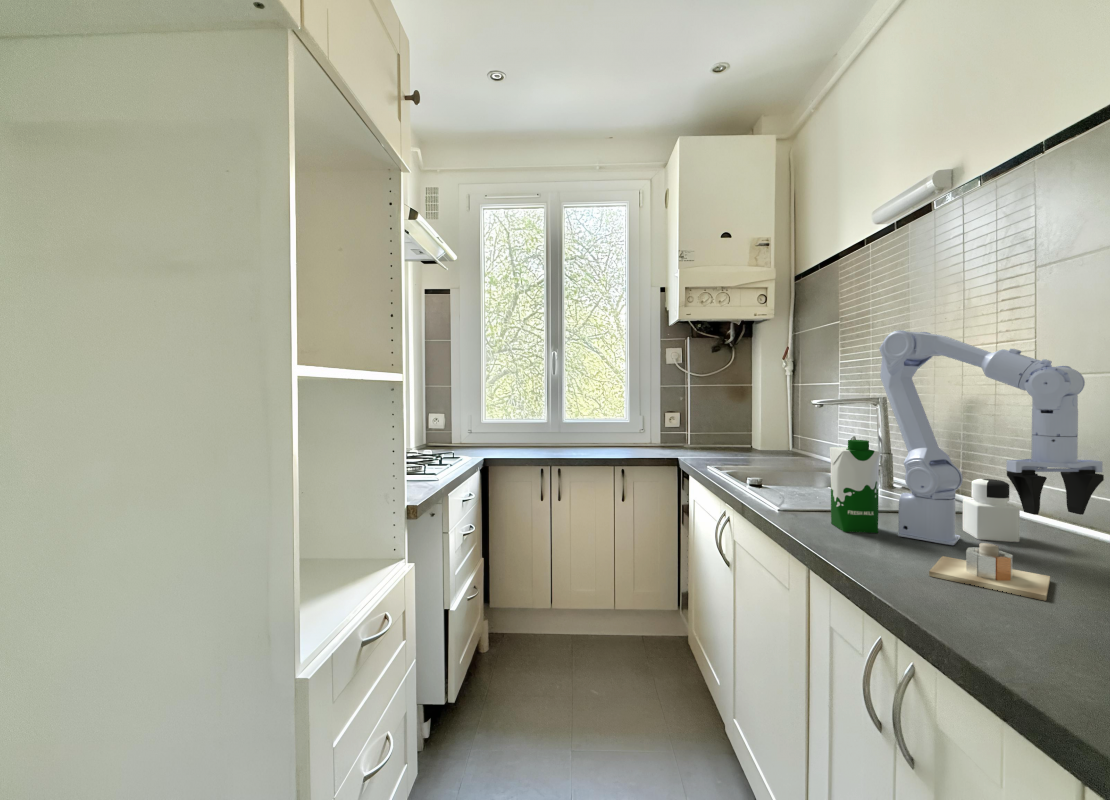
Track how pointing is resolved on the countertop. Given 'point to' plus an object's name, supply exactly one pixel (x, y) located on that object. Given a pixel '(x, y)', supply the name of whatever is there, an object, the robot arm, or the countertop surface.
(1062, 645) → the countertop surface
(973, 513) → the medicine bottle
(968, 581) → the duct board
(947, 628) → the countertop surface
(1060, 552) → the countertop surface
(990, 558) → the collar
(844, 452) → the milk carton
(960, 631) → the countertop surface
